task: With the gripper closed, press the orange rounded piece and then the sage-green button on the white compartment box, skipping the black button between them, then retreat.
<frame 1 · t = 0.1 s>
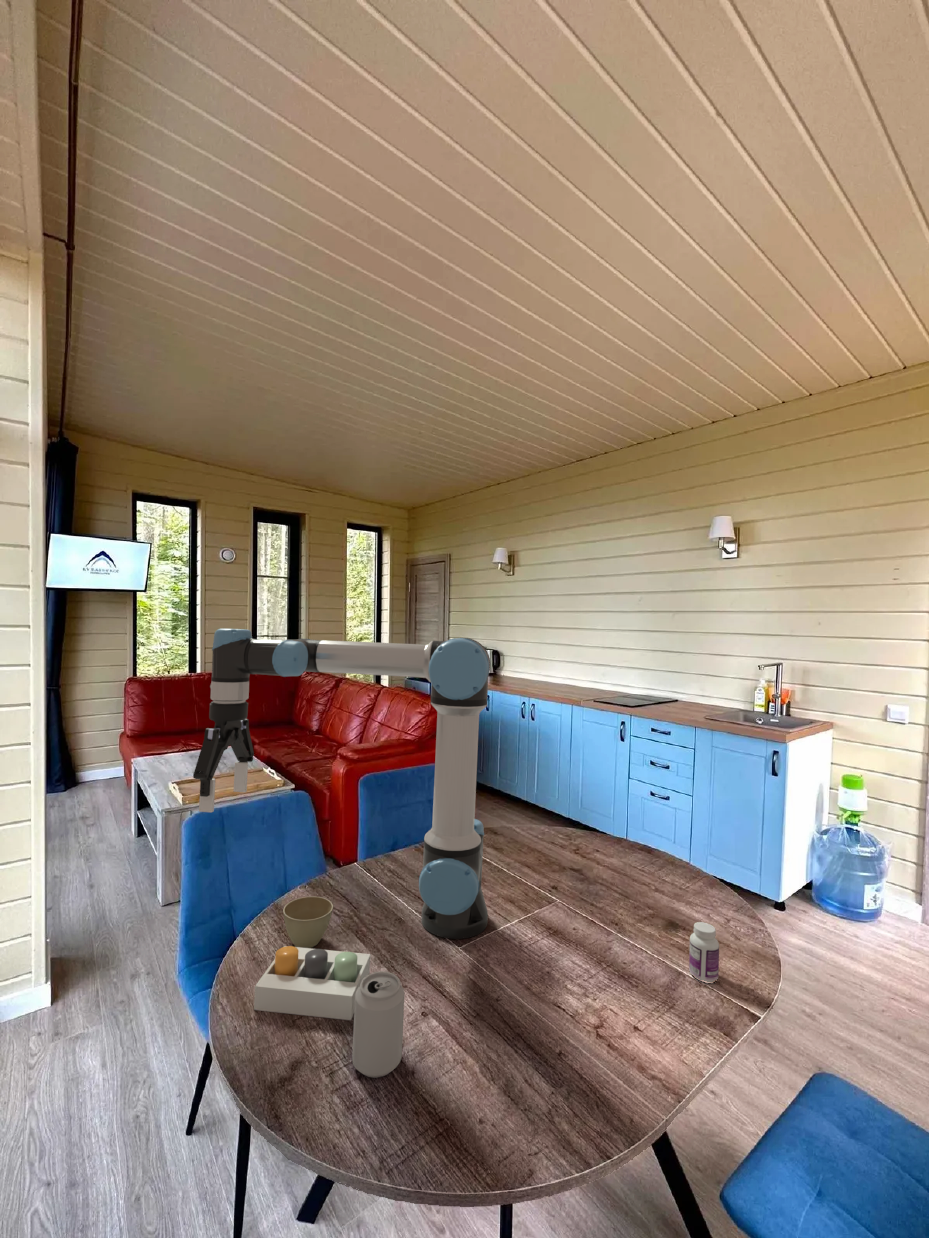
hand: (224, 801, 116), 28 cm above the table, fingers open, 13 cm apart
green button: (345, 969, 98), point 5 cm above the table, slide at 0.0 cm
orange rounded piece: (286, 963, 99), point 5 cm above the table, slide at 0.0 cm
white compartment box: (314, 991, 99), on the table
flower pot: (306, 942, 114), on the table
black button: (315, 966, 99), point 5 cm above the table, slide at 0.0 cm
can: (376, 1062, 83), on the table
pill bottle: (703, 976, 108), on the table
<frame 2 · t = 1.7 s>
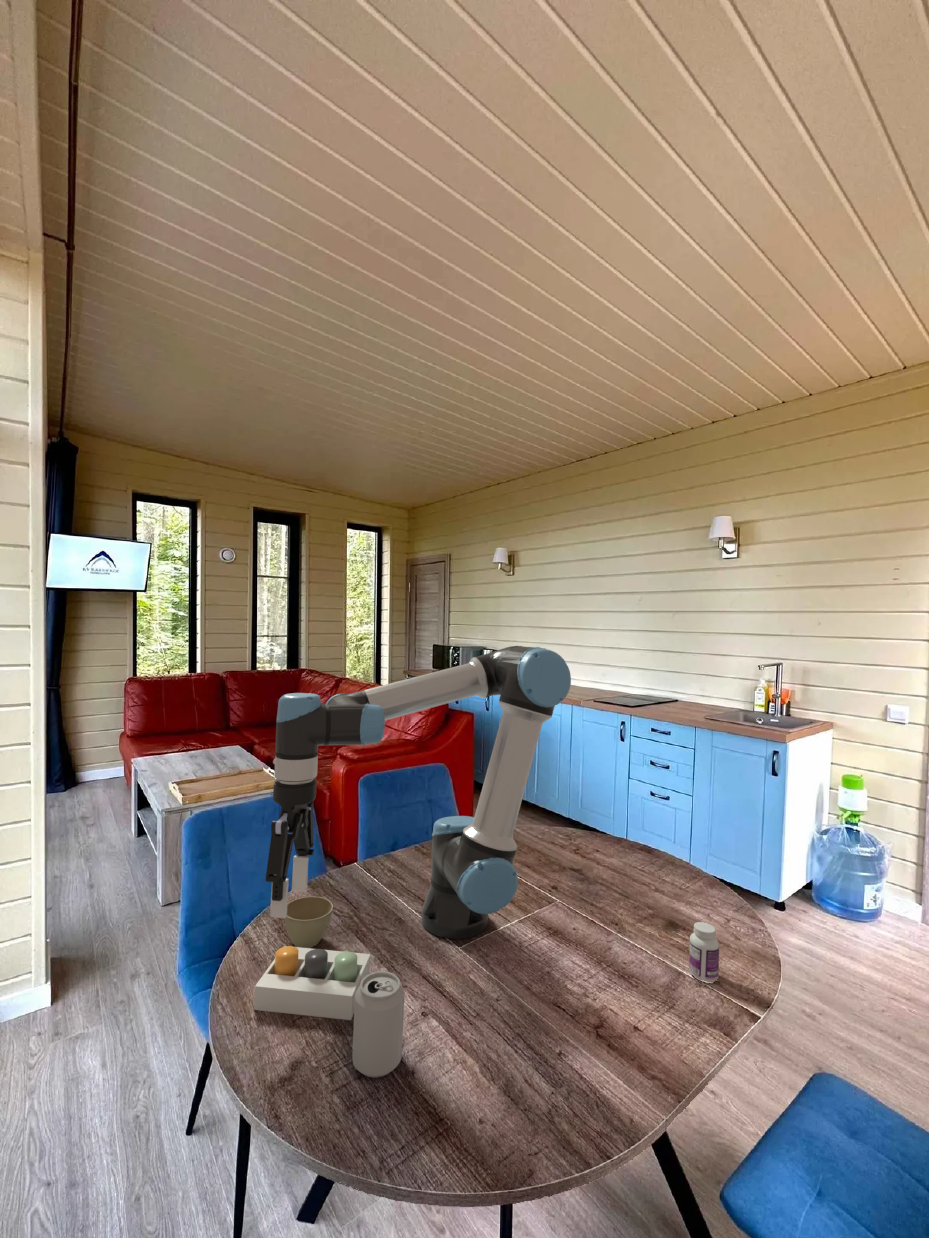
hand: (289, 903, 99), 15 cm above the table, fingers open, 9 cm apart
nothing on the table moved.
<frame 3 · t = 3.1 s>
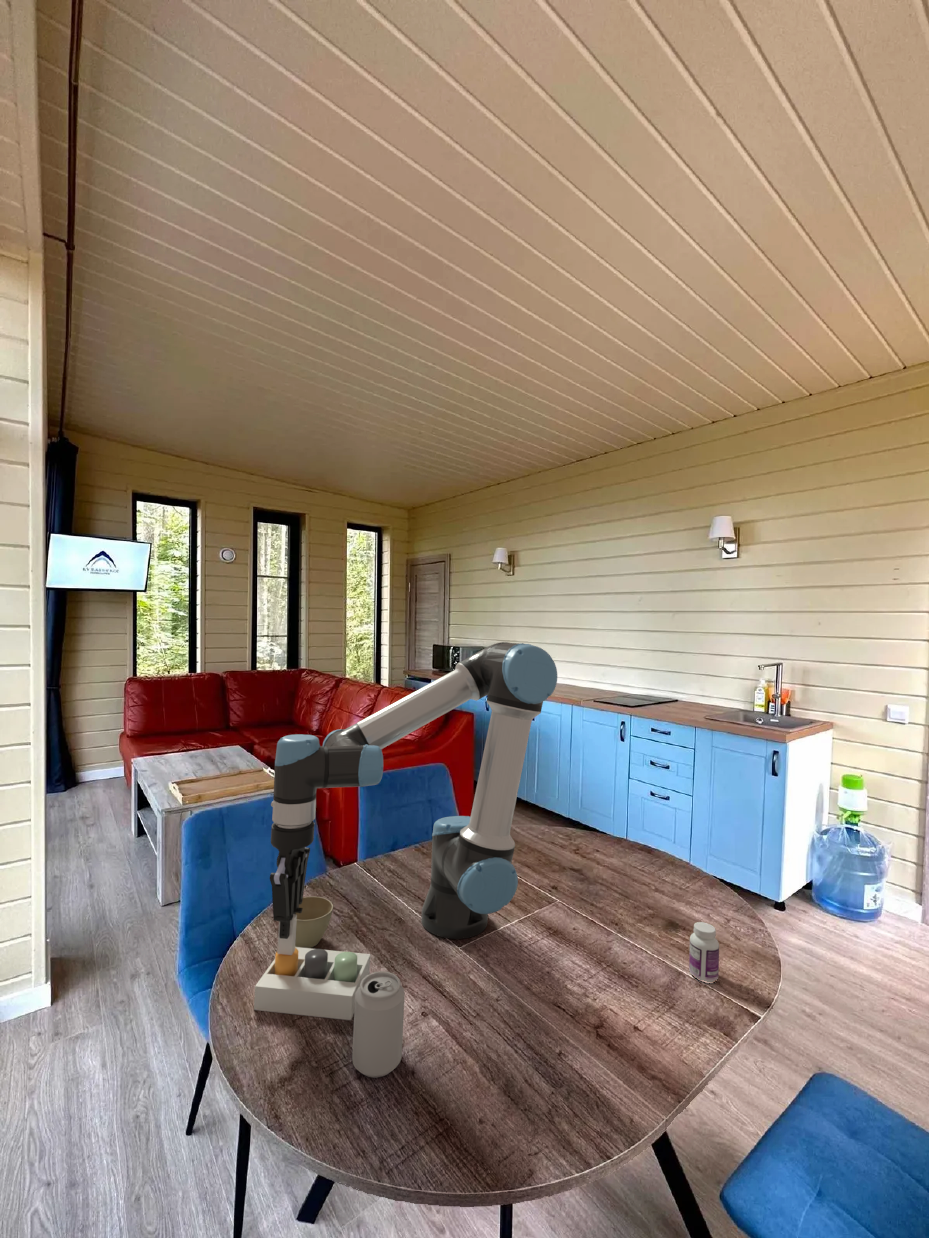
hand: (286, 951, 99), 7 cm above the table, fingers closed
orange rounded piece: (286, 964, 99), point 4 cm above the table, slide at 0.1 cm, touching gripper
everything else where it was.
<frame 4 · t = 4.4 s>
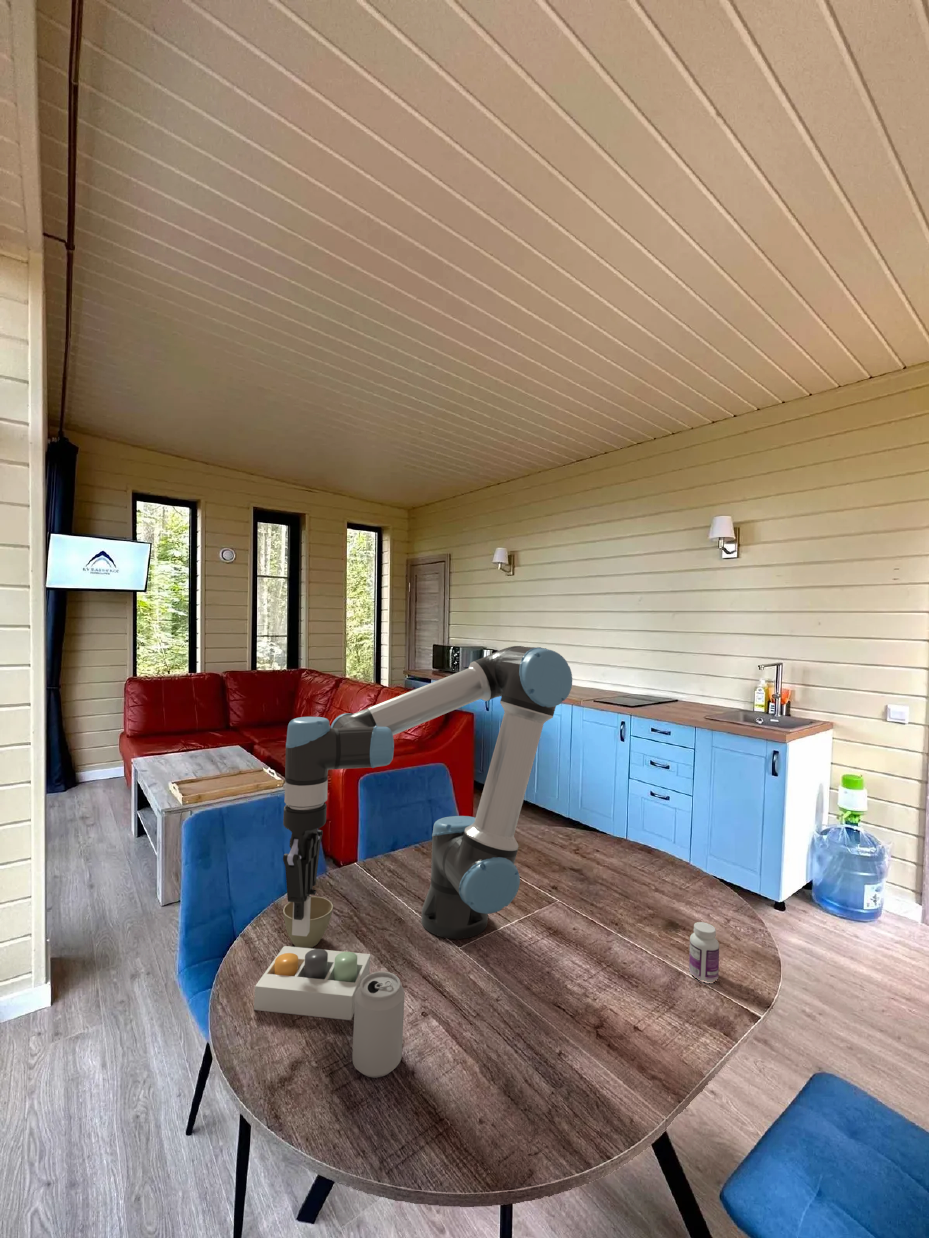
hand: (300, 933, 99), 10 cm above the table, fingers closed
orange rounded piece: (286, 970, 99), point 3 cm above the table, slide at 1.3 cm
everything else where it was.
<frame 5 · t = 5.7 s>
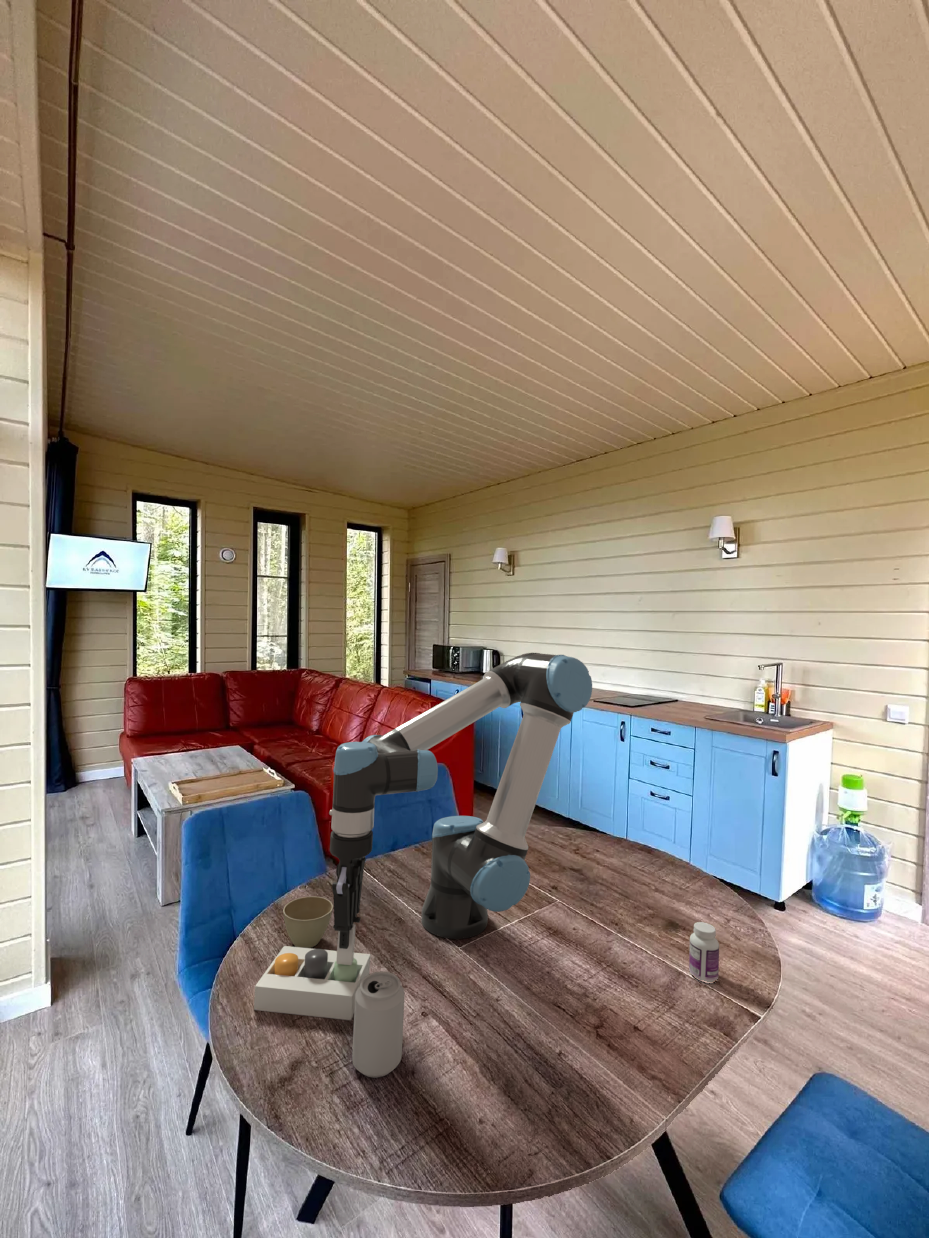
hand: (345, 961, 98), 6 cm above the table, fingers closed
green button: (345, 974, 98), point 4 cm above the table, slide at 0.9 cm, touching gripper
everything else where it was.
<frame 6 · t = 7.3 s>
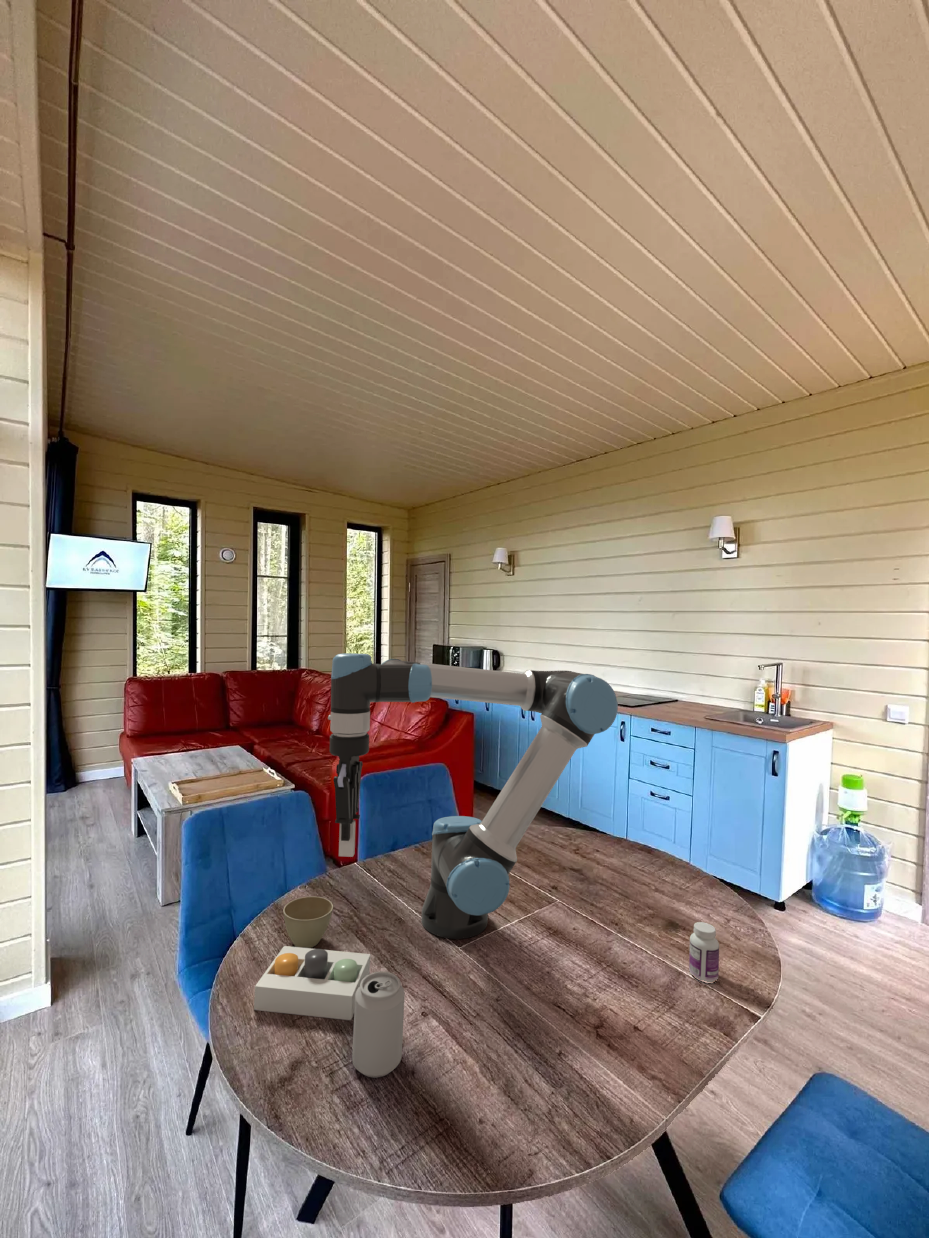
hand: (346, 854, 106), 22 cm above the table, fingers closed
green button: (345, 976, 98), point 3 cm above the table, slide at 1.3 cm
everything else where it was.
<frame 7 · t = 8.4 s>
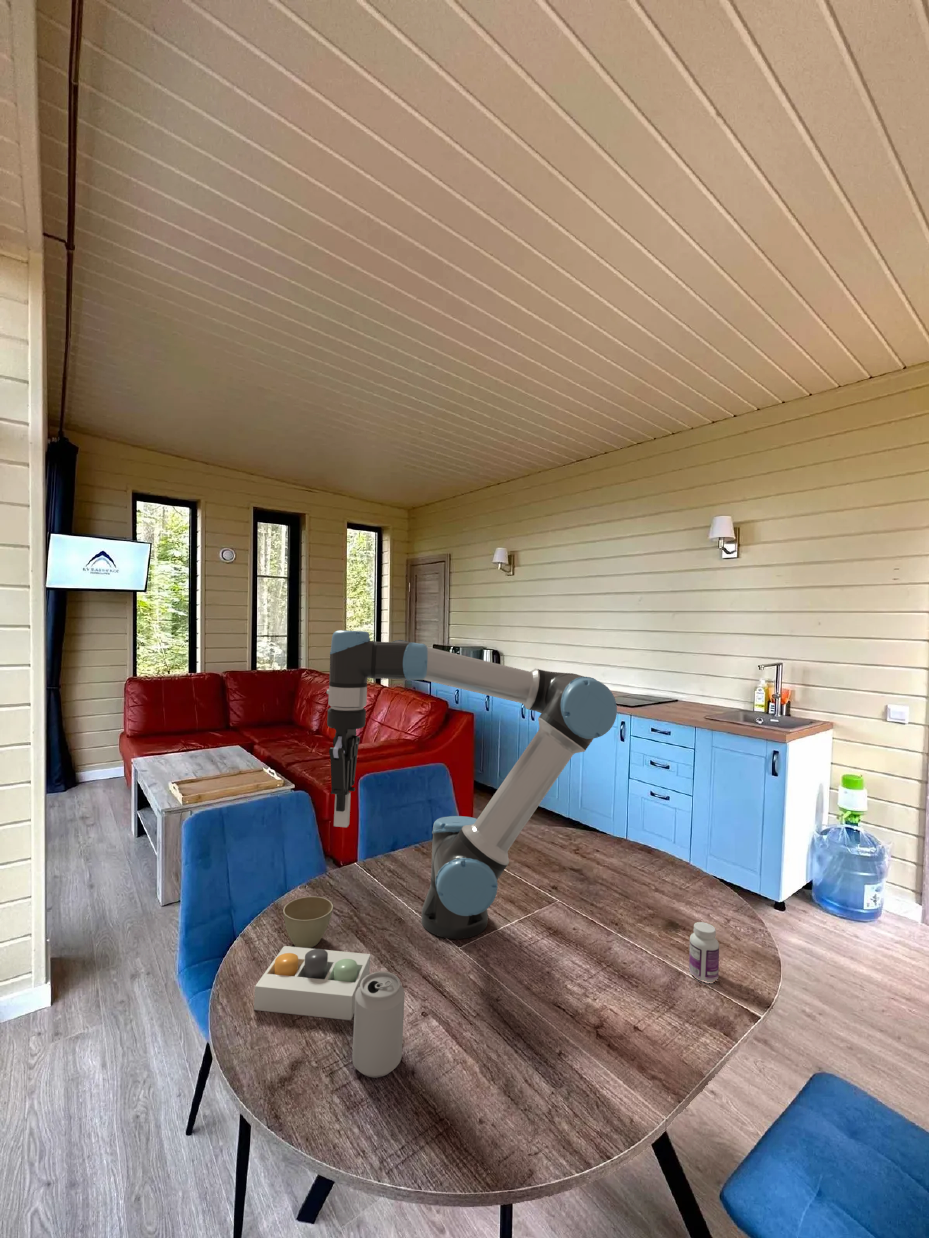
hand: (341, 825, 109), 26 cm above the table, fingers closed
nothing on the table moved.
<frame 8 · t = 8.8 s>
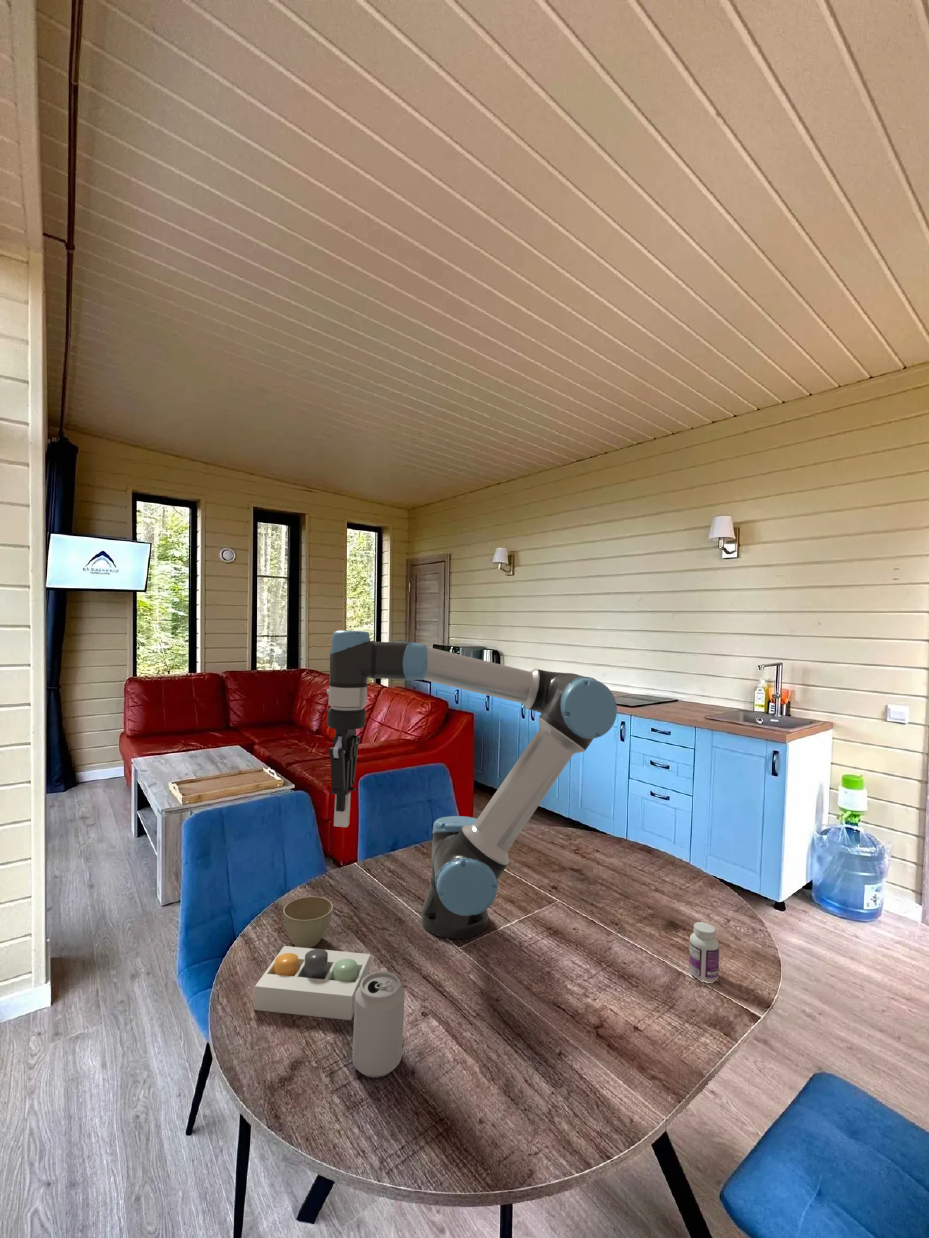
hand: (341, 825, 109), 26 cm above the table, fingers closed
nothing on the table moved.
at the end: orange rounded piece slide at 1.3 cm; green button slide at 1.3 cm; black button slide at 0.0 cm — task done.
